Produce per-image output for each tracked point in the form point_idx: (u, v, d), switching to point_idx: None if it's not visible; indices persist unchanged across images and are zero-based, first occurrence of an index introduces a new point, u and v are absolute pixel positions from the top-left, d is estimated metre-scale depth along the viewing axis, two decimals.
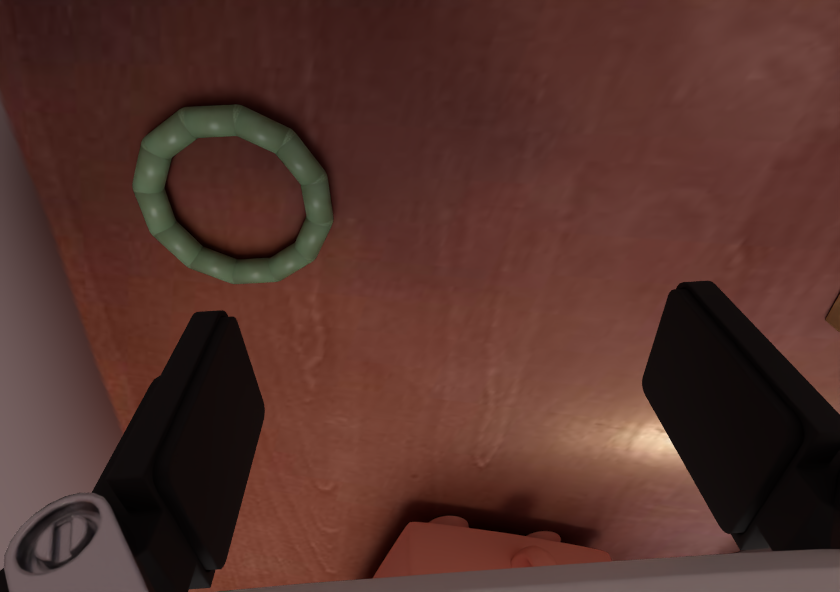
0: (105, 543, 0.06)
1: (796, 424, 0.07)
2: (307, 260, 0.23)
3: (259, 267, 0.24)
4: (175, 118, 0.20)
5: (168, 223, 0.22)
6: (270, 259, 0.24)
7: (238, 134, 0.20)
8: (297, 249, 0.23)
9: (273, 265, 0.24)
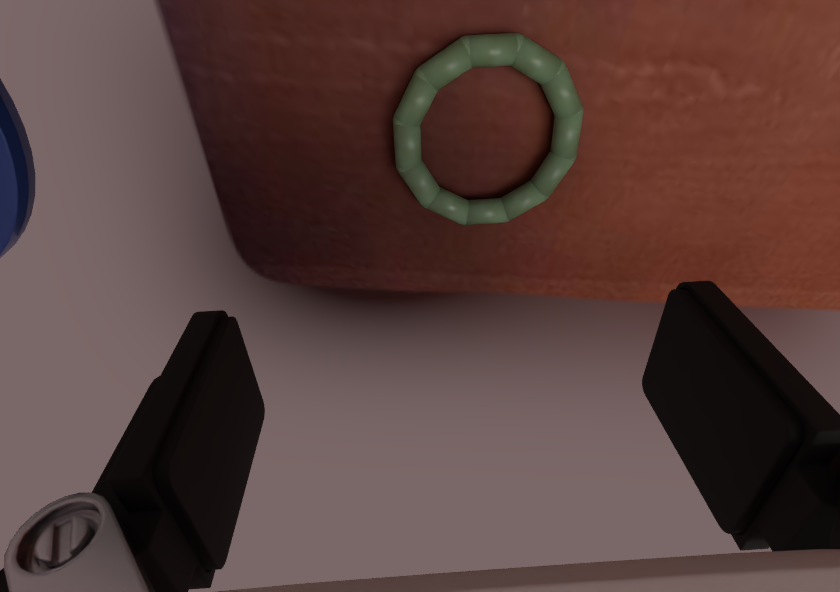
0: (105, 543, 0.06)
1: (796, 424, 0.07)
2: (560, 71, 0.20)
3: (560, 128, 0.22)
4: (403, 175, 0.23)
5: (499, 205, 0.24)
6: (555, 114, 0.22)
7: (417, 123, 0.21)
8: (546, 81, 0.21)
9: (561, 112, 0.21)
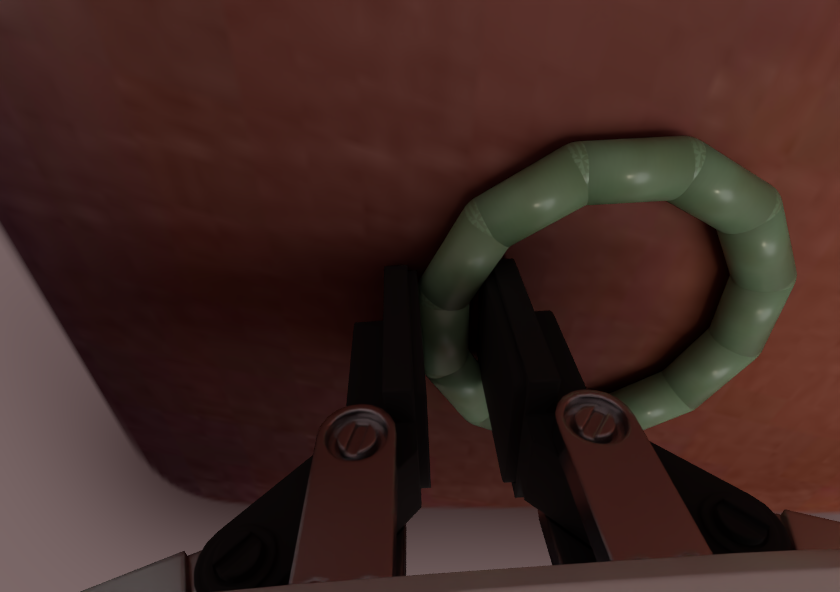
0: (380, 464, 0.07)
1: (520, 377, 0.08)
2: (775, 214, 0.10)
3: (746, 307, 0.11)
4: (432, 381, 0.12)
5: None
6: (736, 279, 0.11)
7: (464, 304, 0.11)
8: (737, 231, 0.10)
9: (754, 282, 0.11)
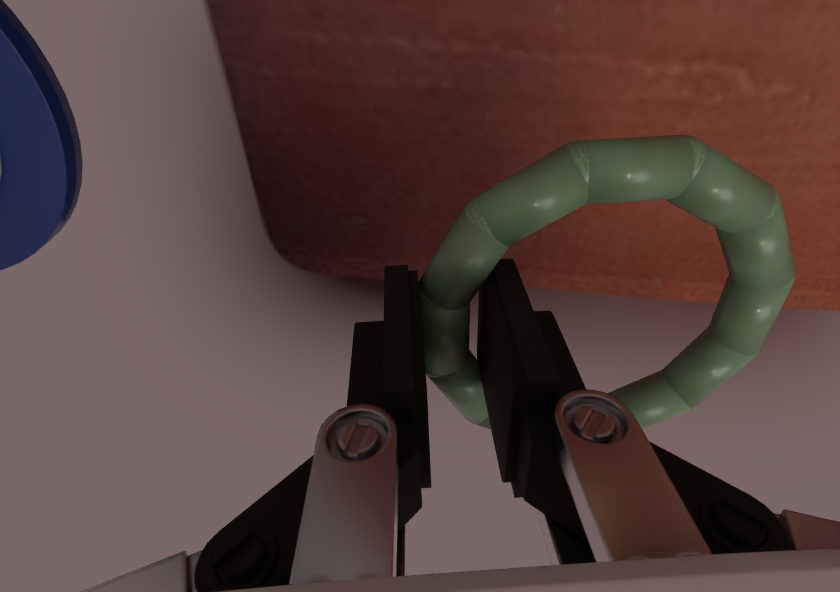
0: (381, 464, 0.07)
1: (520, 377, 0.08)
2: (774, 212, 0.10)
3: (745, 306, 0.11)
4: (433, 381, 0.12)
5: None
6: (735, 278, 0.11)
7: (465, 303, 0.11)
8: (736, 230, 0.10)
9: (753, 281, 0.11)
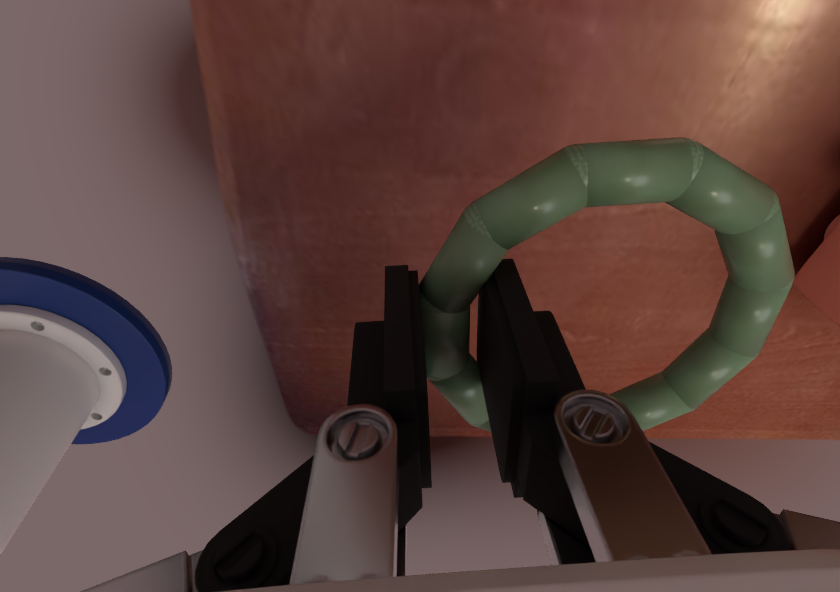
0: (382, 464, 0.07)
1: (519, 377, 0.08)
2: (773, 214, 0.10)
3: (745, 307, 0.11)
4: (434, 384, 0.12)
5: None
6: (734, 280, 0.11)
7: (465, 307, 0.11)
8: (735, 232, 0.10)
9: (752, 282, 0.11)
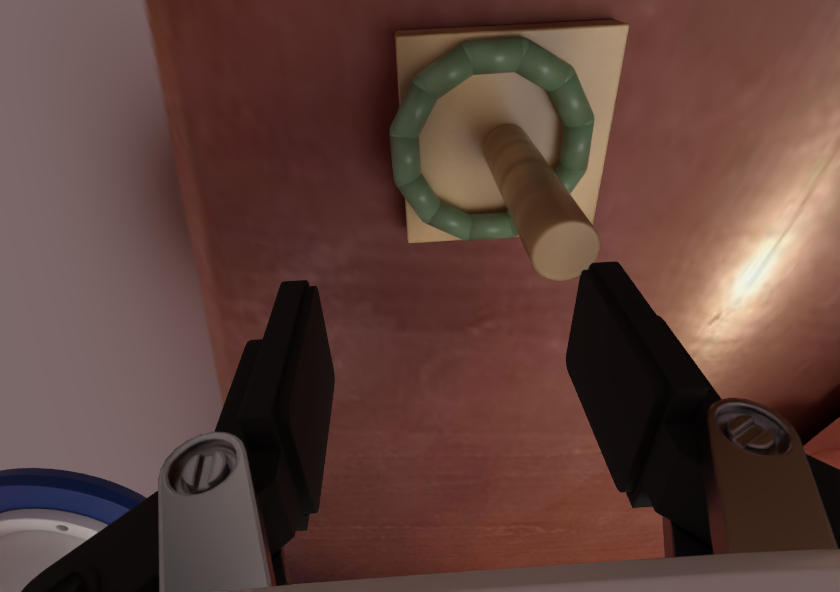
0: (235, 485, 0.07)
1: (662, 385, 0.08)
2: (570, 77, 0.19)
3: (569, 138, 0.20)
4: (401, 189, 0.21)
5: (504, 219, 0.22)
6: (564, 123, 0.20)
7: (415, 135, 0.20)
8: (553, 89, 0.19)
9: (570, 121, 0.20)
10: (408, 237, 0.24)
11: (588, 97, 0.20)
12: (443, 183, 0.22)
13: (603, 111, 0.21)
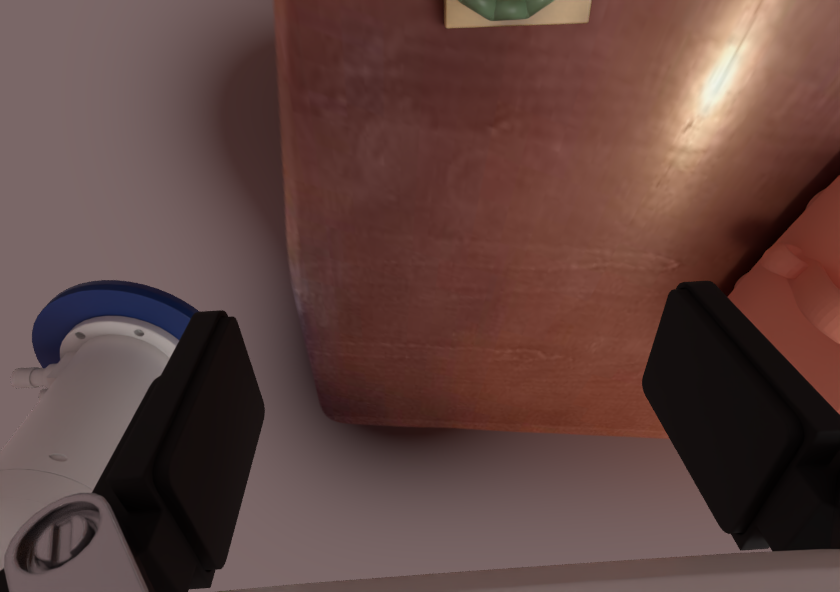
0: (104, 543, 0.06)
1: (796, 424, 0.07)
2: None
3: None
4: None
5: (521, 0, 0.29)
6: None
7: None
8: None
9: None
10: (446, 22, 0.31)
11: None
12: None
13: None
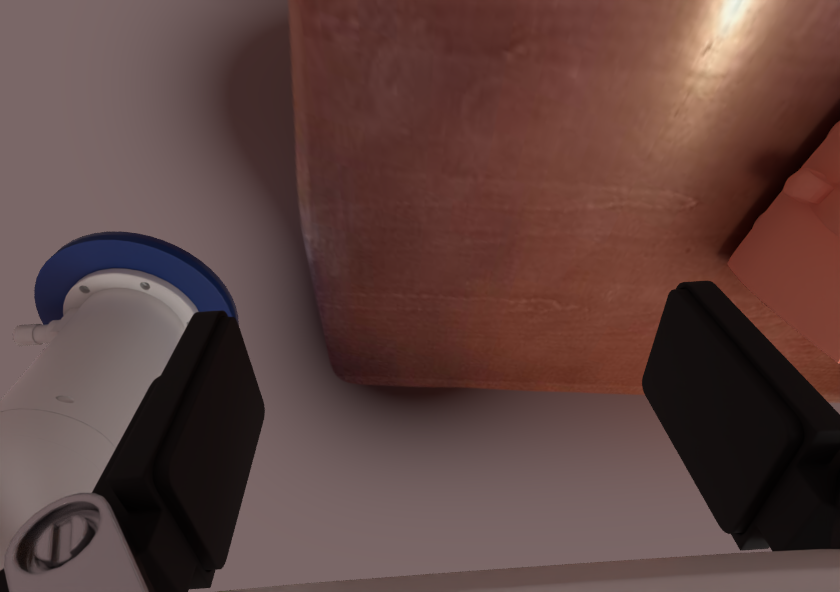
0: (105, 543, 0.06)
1: (796, 424, 0.07)
2: None
3: None
4: None
5: None
6: None
7: None
8: None
9: None
10: None
11: None
12: None
13: None
